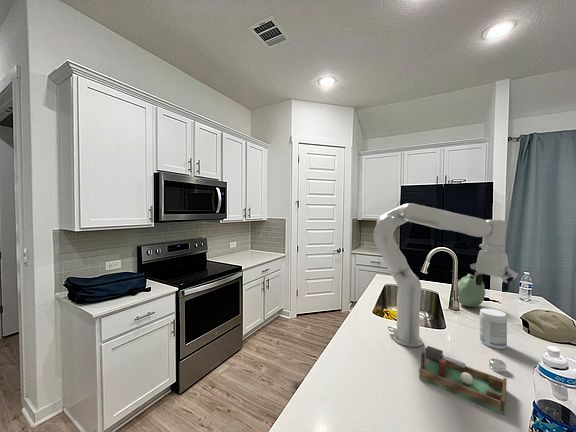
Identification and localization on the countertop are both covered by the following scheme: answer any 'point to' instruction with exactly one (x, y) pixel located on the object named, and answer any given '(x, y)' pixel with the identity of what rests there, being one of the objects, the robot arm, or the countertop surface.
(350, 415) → the countertop surface
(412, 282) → the robot arm
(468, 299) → the cabbage
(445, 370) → the multicoloured piece
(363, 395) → the countertop surface
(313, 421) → the countertop surface
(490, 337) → the supplement tub
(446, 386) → the pitch
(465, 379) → the ball
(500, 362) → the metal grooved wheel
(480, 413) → the countertop surface
